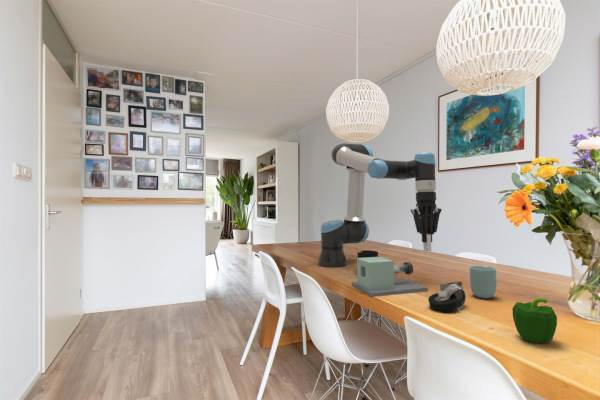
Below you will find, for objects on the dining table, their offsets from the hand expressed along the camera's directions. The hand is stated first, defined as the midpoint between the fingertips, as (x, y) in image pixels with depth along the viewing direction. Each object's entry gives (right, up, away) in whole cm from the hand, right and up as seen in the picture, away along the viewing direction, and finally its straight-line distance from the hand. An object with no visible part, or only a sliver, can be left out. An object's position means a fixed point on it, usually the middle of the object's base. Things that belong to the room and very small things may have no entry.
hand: (427, 250), depth 124 cm
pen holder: (-19, -14, +21) cm, 32 cm away
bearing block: (-17, -14, -4) cm, 22 cm away
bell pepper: (+4, -13, -50) cm, 52 cm away
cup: (+12, -13, -17) cm, 25 cm away
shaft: (-15, -9, -4) cm, 18 cm away
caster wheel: (-5, -14, -28) cm, 32 cm away
